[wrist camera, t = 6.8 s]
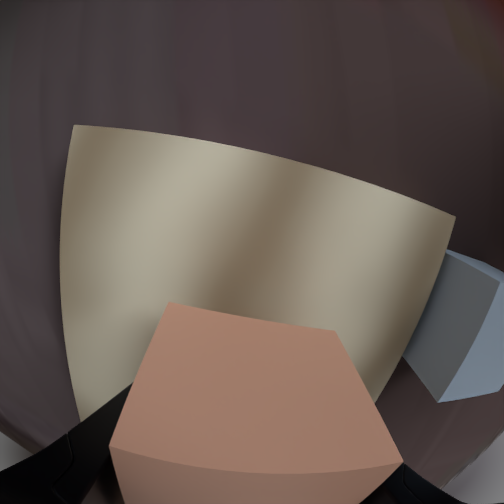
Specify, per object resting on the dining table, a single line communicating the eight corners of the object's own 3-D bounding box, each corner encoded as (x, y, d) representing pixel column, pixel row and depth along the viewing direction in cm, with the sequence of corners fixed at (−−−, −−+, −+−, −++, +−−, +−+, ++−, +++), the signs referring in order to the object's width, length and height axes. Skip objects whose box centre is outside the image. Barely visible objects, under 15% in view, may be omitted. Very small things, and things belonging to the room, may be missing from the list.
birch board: (427, 208, 11) (455, 216, 9) (326, 435, 15) (334, 460, 13) (99, 129, 9) (73, 124, 8) (92, 399, 13) (81, 422, 11)
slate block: (483, 262, 12) (546, 297, 7) (450, 341, 14) (498, 391, 9) (425, 242, 12) (500, 282, 7) (387, 337, 13) (437, 402, 8)
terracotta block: (334, 330, 8) (403, 461, 4) (287, 432, 10) (307, 541, 5) (168, 301, 8) (109, 445, 3) (159, 414, 9) (134, 527, 5)
